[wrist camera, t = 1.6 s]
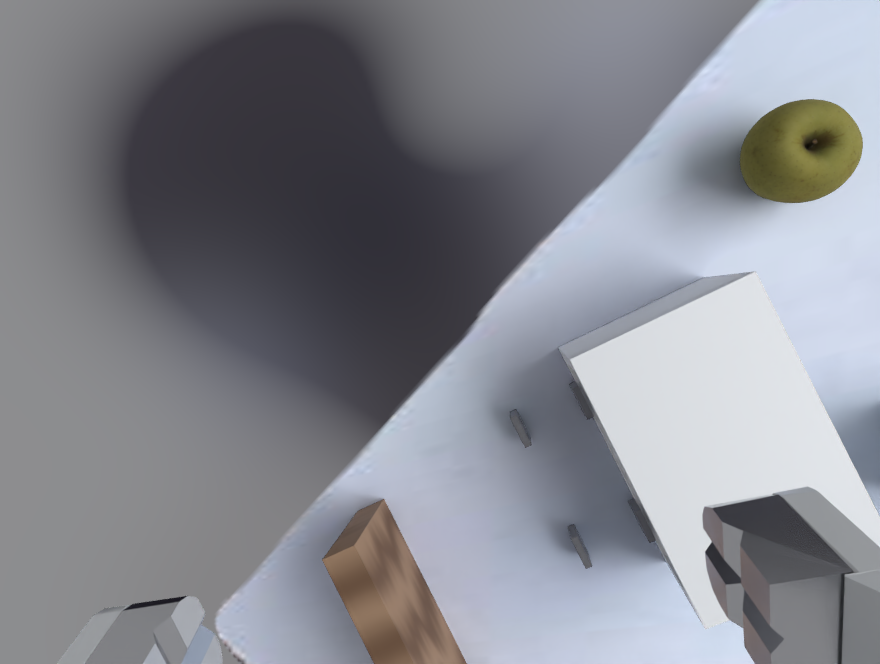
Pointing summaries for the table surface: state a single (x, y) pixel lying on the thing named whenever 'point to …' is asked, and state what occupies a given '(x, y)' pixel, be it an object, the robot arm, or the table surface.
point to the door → (388, 593)
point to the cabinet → (707, 419)
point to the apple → (801, 151)
